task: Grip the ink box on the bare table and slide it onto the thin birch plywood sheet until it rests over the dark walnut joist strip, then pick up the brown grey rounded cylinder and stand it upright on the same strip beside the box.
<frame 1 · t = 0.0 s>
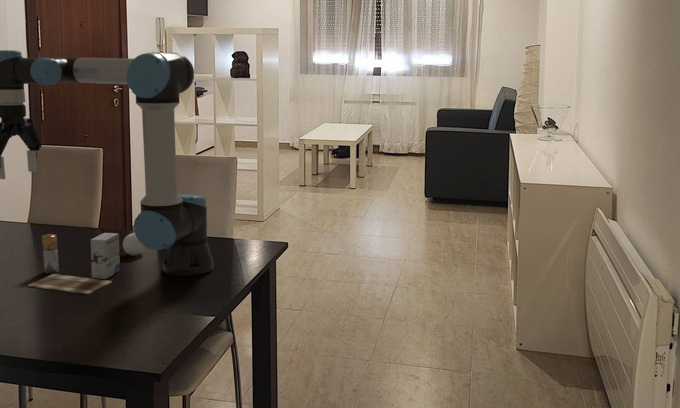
hand: (17, 175, 221), 28 cm above the table, fingers open, 13 cm apart
brown grey rounded cylinder: (51, 271, 221), on the table
panel: (70, 284, 209), on the table
ink box: (106, 275, 219), on the table
ornament: (134, 255, 239), on the table
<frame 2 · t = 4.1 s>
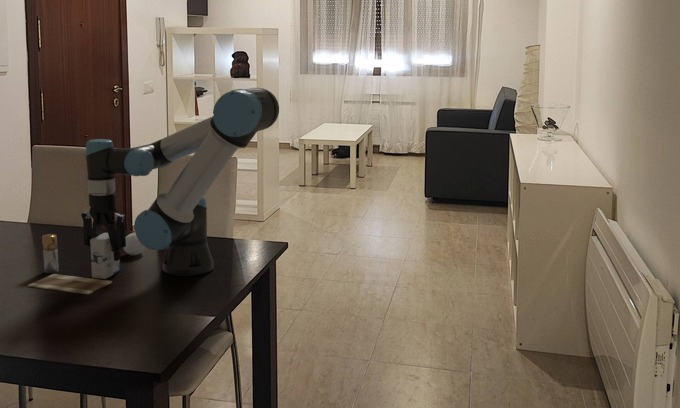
hand: (106, 269, 218), 1 cm above the table, fingers closed on ink box, 5 cm apart
ink box: (106, 274, 219), on the table, touching gripper
everything else where it was.
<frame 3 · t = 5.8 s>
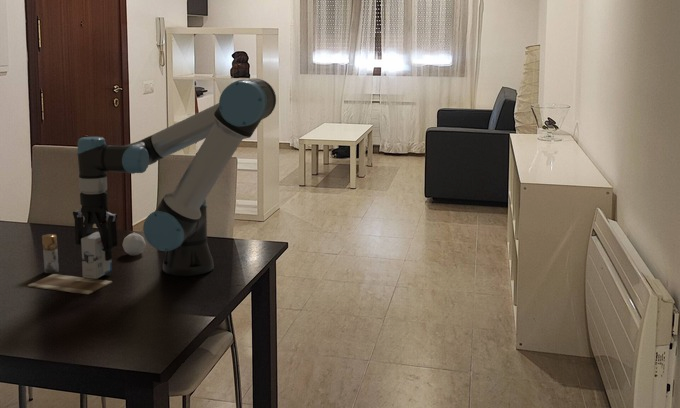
hand: (97, 269, 215), 3 cm above the table, fingers closed on ink box, 5 cm apart
ink box: (98, 274, 215), point 1 cm above the table, touching gripper
everything else where it was.
when the fingers open (2 cm above the table, at t = 7.4 s): ink box stays where it is, resting on panel.
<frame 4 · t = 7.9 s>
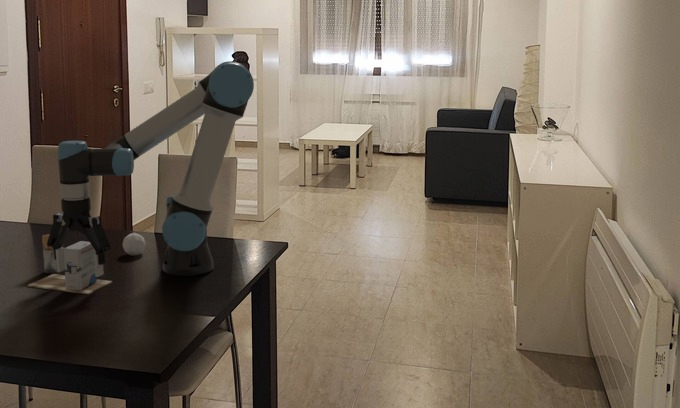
hand: (80, 273, 207), 4 cm above the table, fingers open, 12 cm apart
ink box: (82, 285, 207), resting on panel
everything else where it was.
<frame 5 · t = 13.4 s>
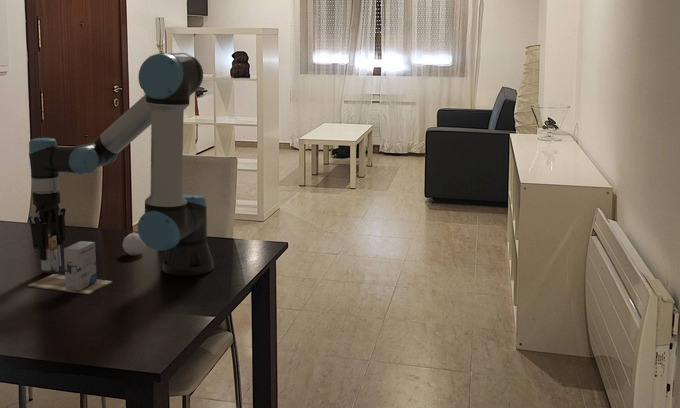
hand: (51, 267, 221), 1 cm above the table, fingers closed on brown grey rounded cylinder, 4 cm apart
brown grey rounded cylinder: (51, 271, 221), on the table, touching gripper
everything else where it was.
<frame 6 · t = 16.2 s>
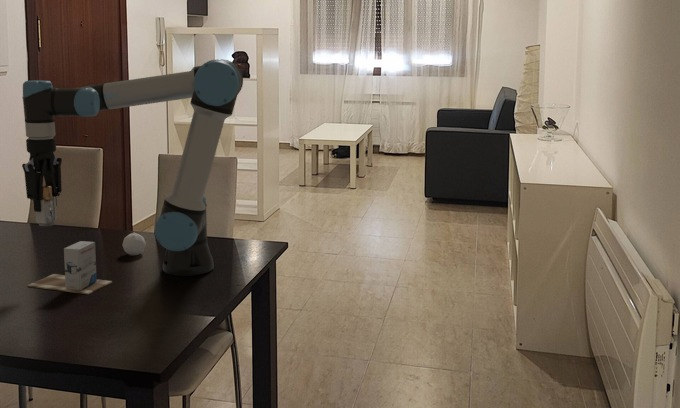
hand: (46, 220, 206), 18 cm above the table, fingers closed on brown grey rounded cylinder, 4 cm apart
brown grey rounded cylinder: (46, 224, 207), point 17 cm above the table, touching gripper
everything else where it was.
when the fingers open (3 cm above the table, at t = 19.1 s): brown grey rounded cylinder stays where it is, resting on panel.
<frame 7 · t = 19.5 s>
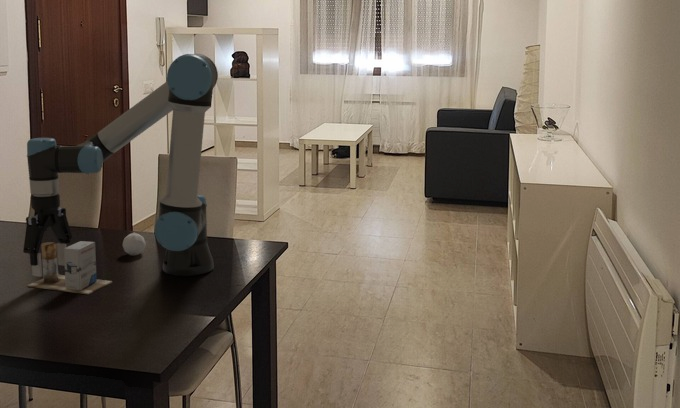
hand: (50, 270, 210), 4 cm above the table, fingers open, 10 cm apart
brown grey rounded cylinder: (51, 281, 210), resting on panel
everything else where it was.
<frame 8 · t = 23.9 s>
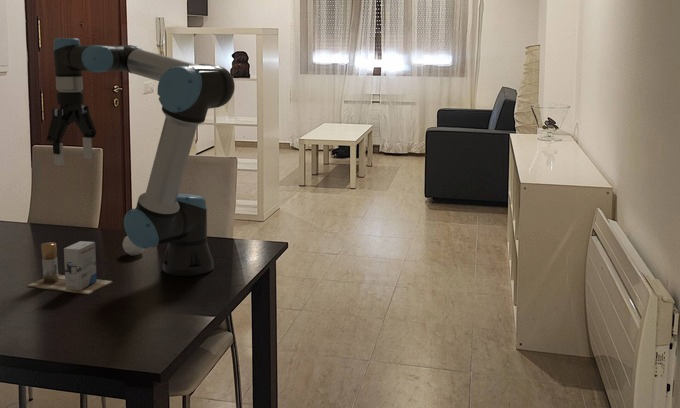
hand: (74, 161, 224), 32 cm above the table, fingers open, 13 cm apart
nothing on the table moved.
at the end: ink box inside the target area (0.2 cm from its centre), resting on panel; brown grey rounded cylinder 0.1 cm from the target spot, resting on panel; brown grey rounded cylinder tilted 0° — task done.
